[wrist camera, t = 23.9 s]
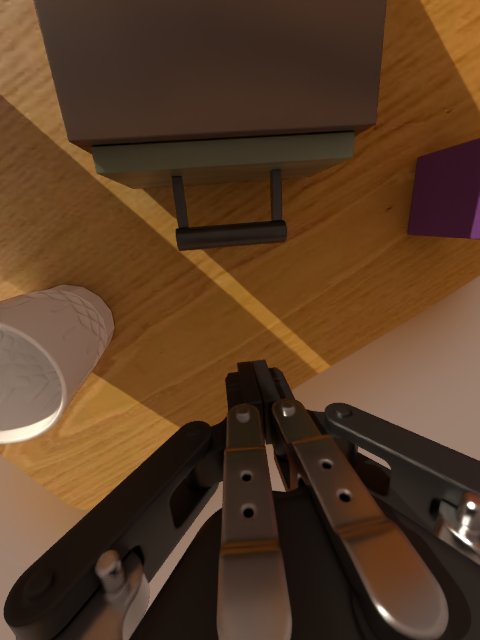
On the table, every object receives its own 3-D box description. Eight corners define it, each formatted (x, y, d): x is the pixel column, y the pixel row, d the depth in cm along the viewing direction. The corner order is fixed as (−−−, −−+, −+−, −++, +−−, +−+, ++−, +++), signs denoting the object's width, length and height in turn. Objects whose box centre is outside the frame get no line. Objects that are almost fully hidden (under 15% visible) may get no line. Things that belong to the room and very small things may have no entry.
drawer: (309, 235, 22) (348, 240, 16) (144, 248, 21) (116, 260, 15) (314, -102, 16) (384, -318, 9) (77, -102, 15) (-22, -342, 9)
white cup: (109, 372, 26) (51, 457, 16) (18, 345, 24) (-105, 425, 15) (132, 297, 24) (80, 347, 14) (34, 262, 22) (-99, 293, 12)
